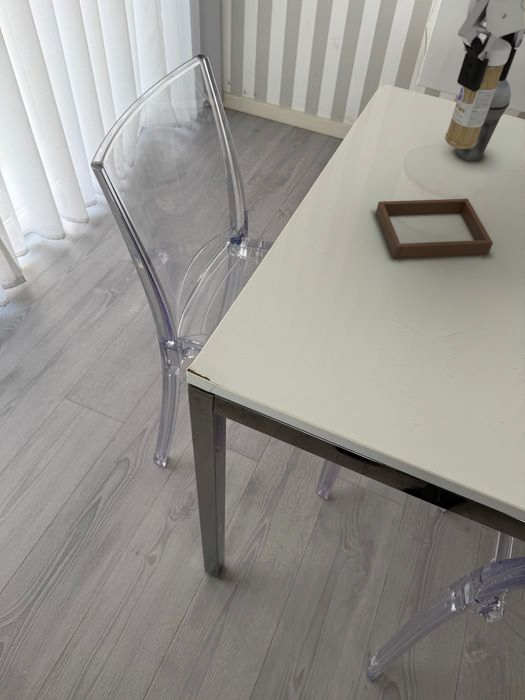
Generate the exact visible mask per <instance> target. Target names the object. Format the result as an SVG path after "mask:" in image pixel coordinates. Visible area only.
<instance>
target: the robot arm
mask: <svg viewBox="0 0 525 700" xmlns="http://www.w3.org/2000/svg"><path fill="white" fill-rule="evenodd" d="M484 23H485V26H484ZM457 33H458V34H457V36H458V37H459V38H460V39H461V41H462V44H463V46H464V48H463V52H464V53H465V54H464V57H463V59H462V60H463V61H462V63H461V66H460V70H459V74H458V77H457V84H458V85H460V86H461V87H462V86H464V87H466V88H467V89H469V90H471V91H473V92H476V91H478V90H479V88H480V85H481V82H482V80H483V77H484V74H485V71H486V68H487V65H488V62H489V59H487V58H486V57H487V55H488V53H489V51H490V49H491V47H492V44H493V42H494V40H495V38H496V37H497V38H501V39H503V40H505V41H507V42H508V43H509V44H510V45H511V51H510V54H509V57H508V60H507V62H506V63H505V65H504V67H503V69H502V72H501V75H500V78H499V81H504V80H507V77H508V75H509V72H510V69H511V67H512V64H513V62H514V58H515V56H516V53H517V50H518V49H519V48H520V47H521V45H522V43H523V40H524V36H525V0H469V3H468V7H467V11H466V18H465V20H464V21H463V23H462V24H461V26H460V28H459V30H458V32H457ZM481 34H482V35H485V37H486V39H485V41H484V43H483V44H482V41H481V39H480V35H481Z"/></svg>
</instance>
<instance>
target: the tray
mask: <svg viewBox="0 0 525 700" xmlns="http://www.w3.org/2000/svg"><path fill="white" fill-rule="evenodd" d="M446 214H447V215H448V214H450V215H451V214H460V215H461V217H462V219H463V221H464V222H465V224H466V226H467V228H468V230H469V231H470V233H471V235H472V237H473V239H474V240H455V241H453V240H452V241H431V242H429V241H428V242H427V241H426V242H407V243H406V242H405V243H402V242H401V241H400V240H399V237H398V235H397V233H396V230H395V228H394V225H393V222H392V220H391V218H390V217H393V216H395V217H396V216H419V215H422V216H423V215H446ZM375 215H376V219H377V221H378V224H379V226H380V228H381V231H382V233H383V236H384V239H385V241H386V244H387V246H388V249H389V251H390V255H391V257H392V259H393V260H397V259H400V260H401V259H420V258H421V259H422V258H442V257H443V258H445V257H462V256H463V257H465V256H466V257H467V256H486V255H489V252H490V250H491V248H492V246H493V244H494V242H493V240H492V239H491V237H490V235H489V233H488V231H487V230H486V228H485V226H484V224H483V223H482V221H481V219H480V217H479V216H478V214H477V212H476V210H475V209H474V207H473V205H472V203H471V201H470V200H469V198H447V199H446V198H445V199H443V198H442V199H416V200H415V199H414V200H386V201H385V200H383V201H378V203H377V207H376V209H375Z"/></svg>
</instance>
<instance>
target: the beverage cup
mask: <svg viewBox="0 0 525 700" xmlns="http://www.w3.org/2000/svg"><path fill="white" fill-rule="evenodd" d="M511 97H512V92H511V86H510V83H509V82H508V80H507V79H506V80H504V81H498V84H497V88H496V91H495V93H494V96H493V99H492V102H491V104H490V107H489V110H488V113H487V115H486V118H485V121H484V123H483V125H482V127H481V130H480V133H479V136H478V138H477V144H476V145H475V146H474V147H472V148H468V149H460V148H457V149H456V150H457V151H456V153H457V155H458V156H459V157H460V158H461V159H463V160H465V161H469V162H472V161H473V162H475V161H479V160H480V159H481V158H482V156H483V155H484V153H485V151H486V149H487V147H488V144H489V143H490V141H491V138H492V136H493V134H494V132H495V130H496V128H497V126H498V124H499V122H500V120H501V118H502V116H503V115H504V114H505V111H506V110H507V108H508V107H509V106H510V100H511Z"/></svg>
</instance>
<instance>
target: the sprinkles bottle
mask: <svg viewBox="0 0 525 700" xmlns="http://www.w3.org/2000/svg"><path fill="white" fill-rule="evenodd" d="M479 38H480V39H481V41H482V44H483V43H484V41H485V39H486V36H479ZM510 51H511V45H510V44H509V43H508V42H507V41H505V40H503V39H501V38H499V37H496V38H495V40H494V42H493V44H492V47H491V49H490V51H489V53H488V55H487V57H486V58H487V59H489V62H488V65H487V68H486V71H485V74H484V77H483V80H482V82H481V85H480V88H479V90H478V91H476V92H473V91H471V90H469V89H467V88H466V87H464V86H462V85H461V88H460V91H459V93H458V96H457V100H456V102H455V106H454V109H453V112H452V115H451V120H450V123H449V126H448V129H447V131H446V133H445V135H444V140H445V142H446V143H447V144H448V145H449V146H451V147H452V148H456V149H458V148H460V149H468V148H472V147H474V146H475V145H476V144H477V138H478V136H479V133H480V130H481V127H482V125H483V123H484V121H485V118H486V115H487V113H488V110H489V107H490V104H491V102H492V99H493V96H494V93H495V91H496V88H497V84H498V81H499V78H500V75H501V72H502V69H503V67H504V65H505V63H506V62H507V60H508V57H509V54H510Z"/></svg>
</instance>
